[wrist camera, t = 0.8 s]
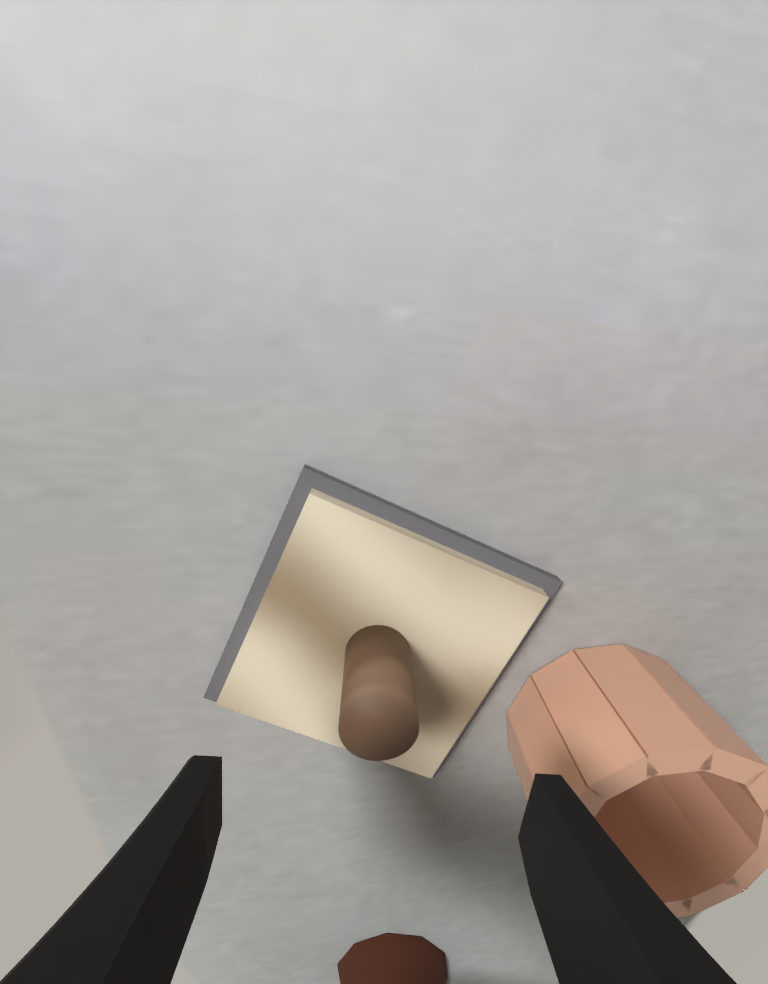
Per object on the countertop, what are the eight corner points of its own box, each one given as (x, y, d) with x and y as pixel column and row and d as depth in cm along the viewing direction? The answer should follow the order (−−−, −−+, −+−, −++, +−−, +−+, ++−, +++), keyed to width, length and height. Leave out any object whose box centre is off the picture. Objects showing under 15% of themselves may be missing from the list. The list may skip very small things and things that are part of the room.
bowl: (634, 613, 16) (733, 708, 11) (711, 732, 17) (823, 854, 13) (474, 708, 17) (509, 829, 12) (562, 812, 18) (620, 949, 14)
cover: (311, 487, 14) (290, 533, 10) (542, 588, 15) (598, 662, 11) (221, 691, 16) (175, 791, 12) (429, 764, 17) (445, 874, 13)
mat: (305, 464, 14) (303, 467, 13) (557, 576, 15) (562, 582, 15) (207, 689, 16) (203, 697, 16) (433, 768, 18) (434, 777, 17)
